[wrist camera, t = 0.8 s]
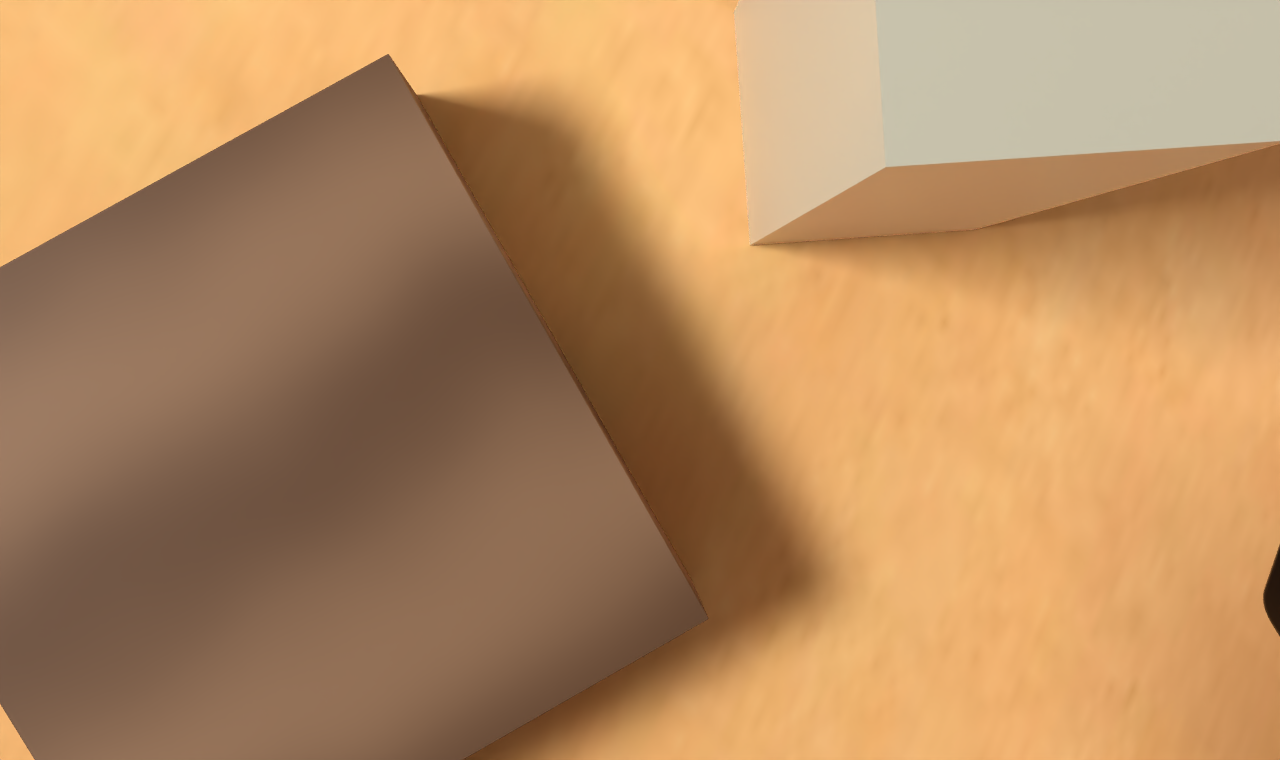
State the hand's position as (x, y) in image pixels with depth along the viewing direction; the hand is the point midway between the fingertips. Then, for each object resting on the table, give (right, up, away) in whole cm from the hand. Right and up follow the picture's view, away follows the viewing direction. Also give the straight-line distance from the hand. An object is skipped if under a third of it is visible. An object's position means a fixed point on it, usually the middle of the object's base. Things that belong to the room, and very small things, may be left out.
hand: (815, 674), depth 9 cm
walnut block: (-9, +1, +13) cm, 16 cm away
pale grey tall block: (+3, +8, +13) cm, 16 cm away
